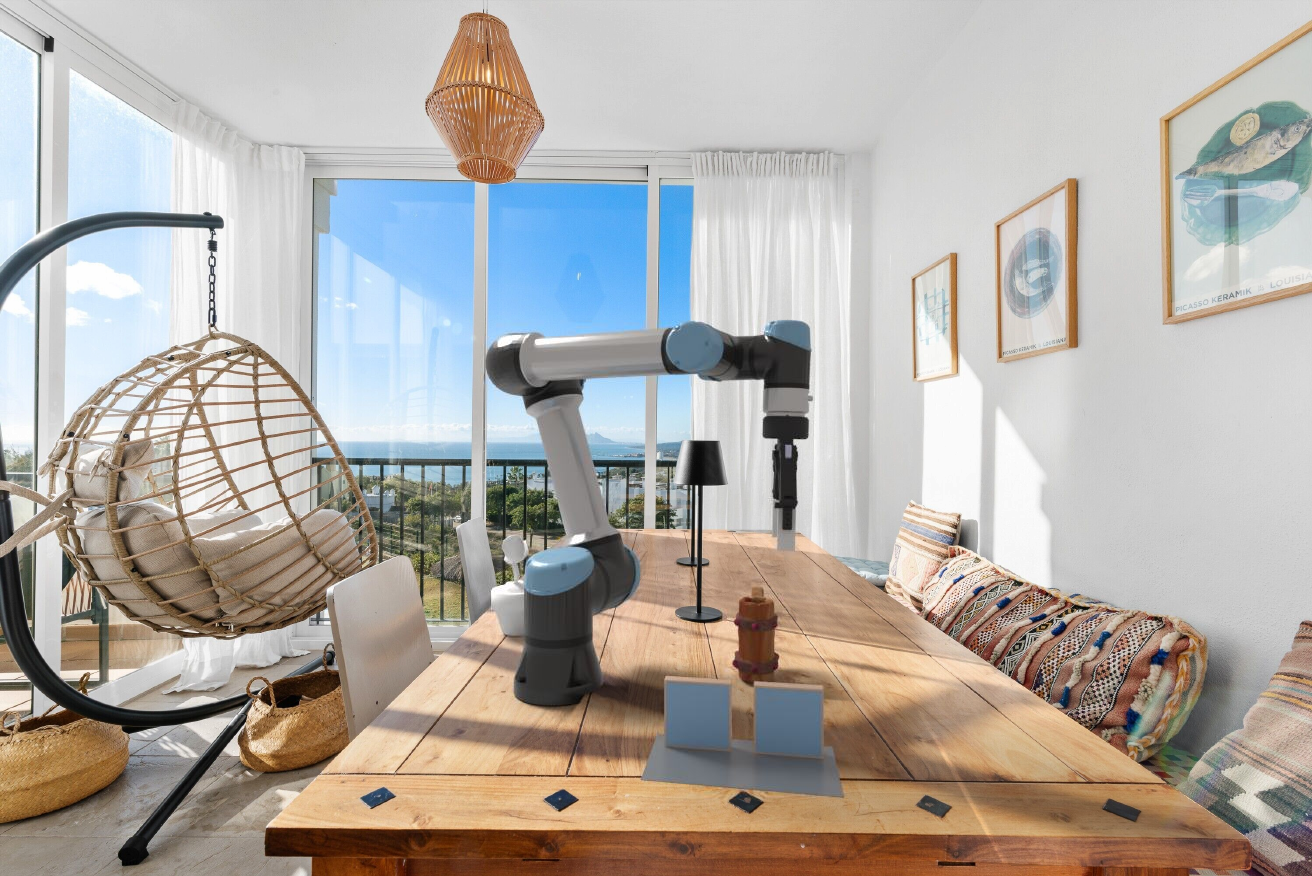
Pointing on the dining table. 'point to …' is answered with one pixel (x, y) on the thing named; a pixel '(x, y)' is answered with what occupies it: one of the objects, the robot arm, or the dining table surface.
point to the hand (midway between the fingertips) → (782, 543)
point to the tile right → (789, 719)
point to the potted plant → (511, 590)
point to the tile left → (698, 713)
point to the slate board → (744, 769)
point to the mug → (756, 638)
